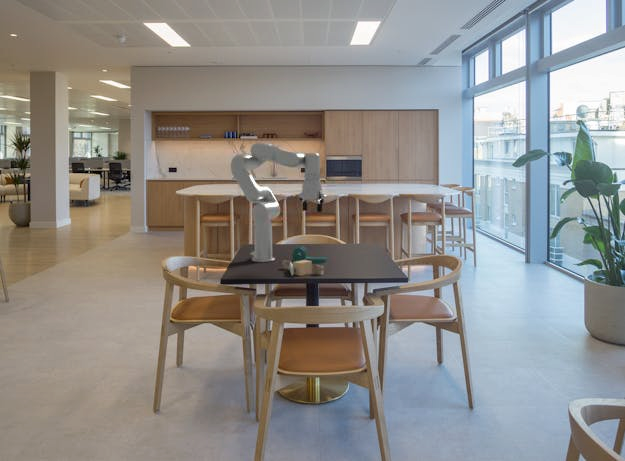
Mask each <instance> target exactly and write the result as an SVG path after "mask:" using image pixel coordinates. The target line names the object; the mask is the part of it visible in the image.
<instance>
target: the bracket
mask: <svg viewBox="0 0 625 461" xmlns="http://www.w3.org/2000/svg"><path fill="white" fill-rule="evenodd" d="M307 250H308V249H307V248H306V247H305V246H300V245H299V246H297V247H296V248H295V249H294V250H293V251H292V263H293V262H296V261H301V260H308V261H312V264H325V263H327V262H328V259H327V258H328V257H325V256H308V251H307Z"/></svg>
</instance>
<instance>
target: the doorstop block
mask: <svg viewBox="0 0 625 461" xmlns="http://www.w3.org/2000/svg"><path fill="white" fill-rule="evenodd" d="M292 264H293V269H295V272H293V275H294V274H295V276H300V277H302V276H305V275H306V274H307V275H312V274H313V263H312V261H308V260H301V261H296V262H293V261H292Z"/></svg>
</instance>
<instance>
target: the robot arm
mask: <svg viewBox="0 0 625 461" xmlns="http://www.w3.org/2000/svg"><path fill="white" fill-rule="evenodd" d="M320 156H321V155H320V154H319V153H317V152H310V153H307V152H293V151H292V152H291V151H287V150H282V148H281V147H280V146H279V145H278V146H277V145H272V144H271V143H269V142H255V143H253V144H252V146H250V153H239V154H237V155H234V156H233V158H232V159H231V162H230V171H231V174H232V176H233V178H234V179H235V181H236V183H237V184H238V186H239V187H240V189H241V191H242V192H243V194H244V196H245V198H246V200H247V201H248V202H249V203H252V204H255V205H254V206H253V208H252V218H253V226H254V227H253V228H254V230H253V231H254V250H252V252H250V256H253V257H251V261H252V262H256V263H257V262H258V263H268V262H269V263H270V262H271V263H272V262H274V261H275V260H276V257H274V256H273V225H272V222H271V220H272V219H276V218H278V217H279V216H280V214H281V206H280V204H279V202H278V200H277V199H276V197H275V196H274V193H273V192H272V190H271V189H270V188H269V186H267V185H265V184H257V182H256V181H255V178H254V177H253V176H252V174H251V173H249V171H248V170H255V169H258V168H260V167H261V166H262V165H264V164H265V163H266V162H270V163H271V162H272V163H275V164H277V165H279V166H280V165H281V166H284V167H287V168H293V169H294V168H295V169H296V168H304V175H303V178H304V180H303V183H302V189H301V192H300V193H299V194H298V197H299V200H300V202H301V204H302V205H301V206H302V211H303V212H305V211H308V201H316V202H317V205H316V212H317V213H321V212H323V204H324V202H325V201H326V198H327V195H326V194H325V193H324V192H323V191H322V190H323V189H322V182H321V178H320V177H321V175H320V173H321V172H320V170H321V168H320V167H321V165H320V164H321V157H320Z"/></svg>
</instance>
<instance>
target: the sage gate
mask: <svg viewBox="0 0 625 461" xmlns="http://www.w3.org/2000/svg"><path fill="white" fill-rule="evenodd" d="M289 271H290V275H291V276H294V274H293V272H295V269H293V261H291V262H290V269H289Z"/></svg>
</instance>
